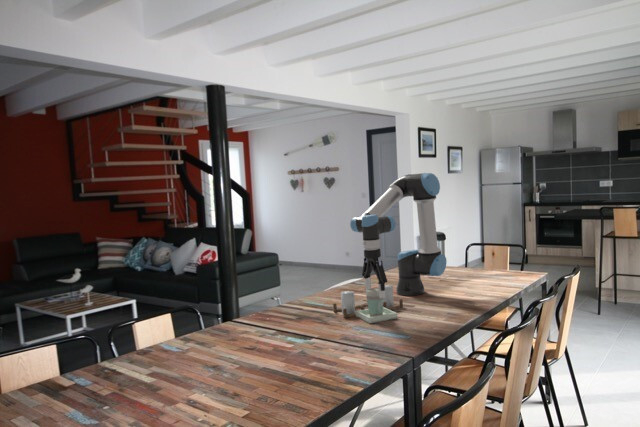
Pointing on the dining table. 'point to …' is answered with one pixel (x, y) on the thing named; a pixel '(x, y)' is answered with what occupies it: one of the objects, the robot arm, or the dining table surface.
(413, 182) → the robot arm
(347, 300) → the white rounded capsule
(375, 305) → the coffee cup
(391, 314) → the tray
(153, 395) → the dining table surface
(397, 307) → the rack
